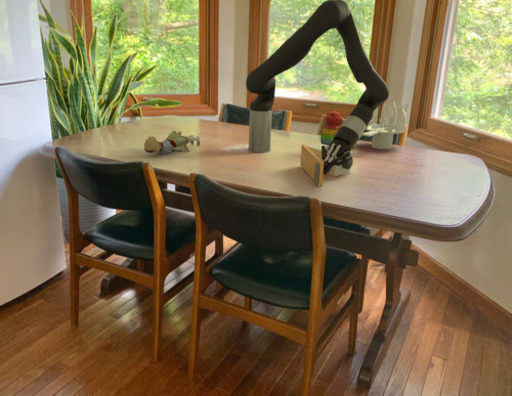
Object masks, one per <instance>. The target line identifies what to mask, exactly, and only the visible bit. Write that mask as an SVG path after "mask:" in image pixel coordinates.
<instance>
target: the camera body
mask: <svg viewBox="0 0 512 396" xmlns="http://www.w3.org/2000/svg"><path fill="white" fill-rule="evenodd" d="M323 145H324V144H321V142H320V143H314V144H308V145H305V146H306V147H308V148H309V149H310V150H311V151H312V152H313V153H314V154H315V155H316V156H317V157H319V158H320V159H321V160H322V161H323V162H324V160H323V159H322V152H321V147H322V146H323ZM324 146H325V147H326V146H328V145H324ZM352 153H353V152H352V150H351V151H350V154H351V155H352ZM340 161H341V160H340ZM353 164H354V159H353V158H352V159H350V160H348V161H347V162H345V163H343V164H341V165H339V166H336V165H334V166H333V167H332V168H331V169H330V171H329V172H328V173H327V174H326V175H329V176H332V177H337V176H344V175H347V173H348V174H350V172H351V168H352V166H353Z"/></svg>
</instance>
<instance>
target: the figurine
mask: <svg viewBox="0 0 512 396" xmlns="http://www.w3.org/2000/svg"><path fill="white" fill-rule="evenodd" d="M195 141H196V146H197V147H200V145H201V139H200V135H198V136H196V137H194V135H193V134H191V135H190V136H189V135H182V131H178V132H176V130H173V131H171V132H170V133H169V134H168V136H167V137H166V138H165V140H163V141H159V140H157V137H155V136H152V135H150V136H148V138H147V139H145V142H144V144H143V148H144V151H145V153H149V154H152V153H156V152H157V153H159V154H161V153H162V155H165V154H167V155H168V154H170V153H173V151H177V152H179V151H180V152H181V151H182V152H183V153H185V154H188V153H190V151H191V150H190V148H189V147H187V145H189V144H190V145H192V146H193V145H194V143H195Z"/></svg>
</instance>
